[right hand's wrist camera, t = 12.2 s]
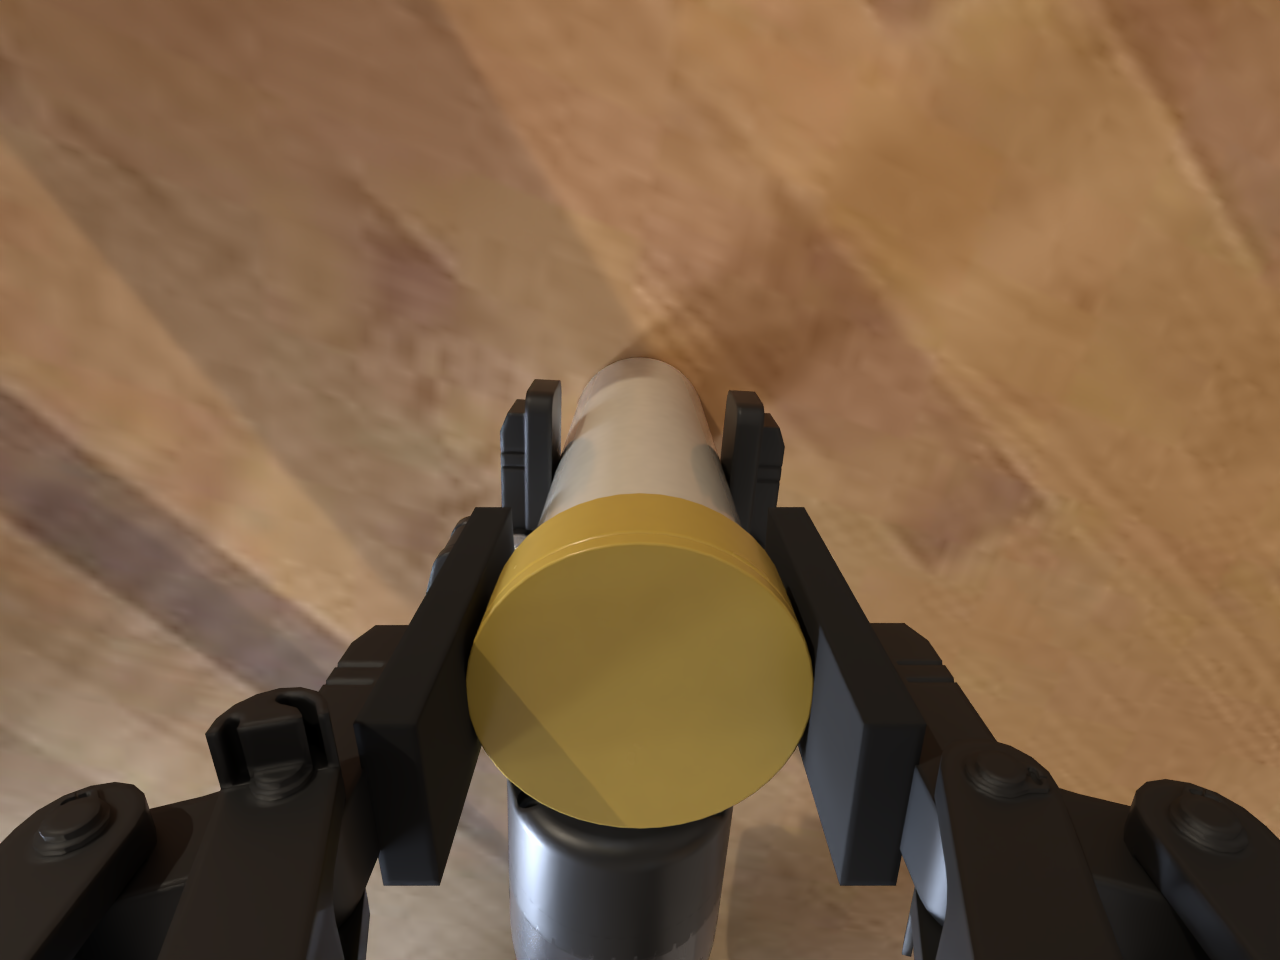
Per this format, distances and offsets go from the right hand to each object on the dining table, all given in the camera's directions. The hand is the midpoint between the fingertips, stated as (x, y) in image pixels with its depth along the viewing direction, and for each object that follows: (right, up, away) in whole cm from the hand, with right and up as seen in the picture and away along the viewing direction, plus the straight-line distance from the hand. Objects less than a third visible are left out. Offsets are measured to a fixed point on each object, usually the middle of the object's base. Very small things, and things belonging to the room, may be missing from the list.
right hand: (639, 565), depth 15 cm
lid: (0, -1, -4) cm, 4 cm away
